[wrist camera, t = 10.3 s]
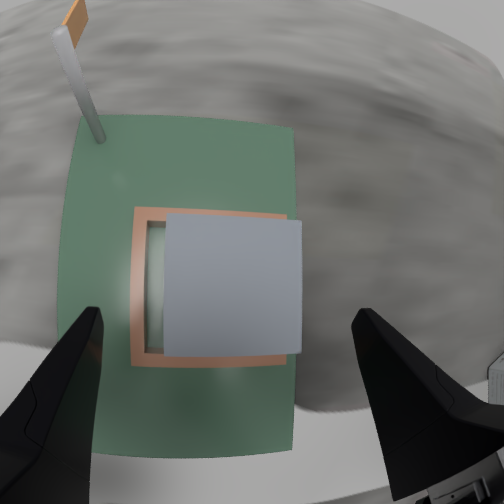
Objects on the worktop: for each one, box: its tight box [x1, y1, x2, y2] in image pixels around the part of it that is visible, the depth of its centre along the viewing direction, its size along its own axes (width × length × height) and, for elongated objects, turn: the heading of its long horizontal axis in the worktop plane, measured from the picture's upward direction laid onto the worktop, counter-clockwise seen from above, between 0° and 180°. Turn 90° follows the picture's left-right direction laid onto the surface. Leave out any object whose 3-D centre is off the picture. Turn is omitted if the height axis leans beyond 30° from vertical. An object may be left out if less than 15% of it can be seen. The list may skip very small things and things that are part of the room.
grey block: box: [163, 213, 302, 357], centre depth 15 cm, size 5×5×10 cm
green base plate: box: [50, 0, 296, 458], centre depth 14 cm, size 25×16×11 cm, turn 179°
